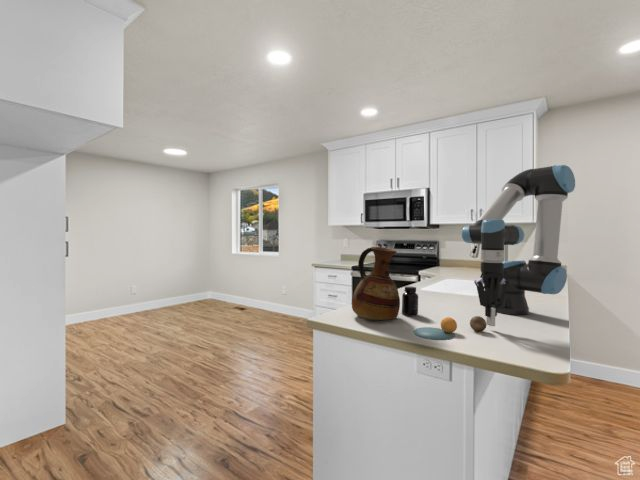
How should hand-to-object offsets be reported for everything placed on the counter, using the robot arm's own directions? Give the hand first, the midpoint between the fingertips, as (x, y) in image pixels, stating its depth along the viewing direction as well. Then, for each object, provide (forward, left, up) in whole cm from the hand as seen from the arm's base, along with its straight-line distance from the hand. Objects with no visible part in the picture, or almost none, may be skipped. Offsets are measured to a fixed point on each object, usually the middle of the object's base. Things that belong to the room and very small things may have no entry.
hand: (490, 325), depth 124 cm
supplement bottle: (+19, -27, -2) cm, 33 cm away
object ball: (+17, 0, +1) cm, 17 cm away
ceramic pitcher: (+36, -24, -2) cm, 43 cm away
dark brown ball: (+6, 0, +1) cm, 6 cm away
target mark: (+23, 0, -2) cm, 23 cm away
